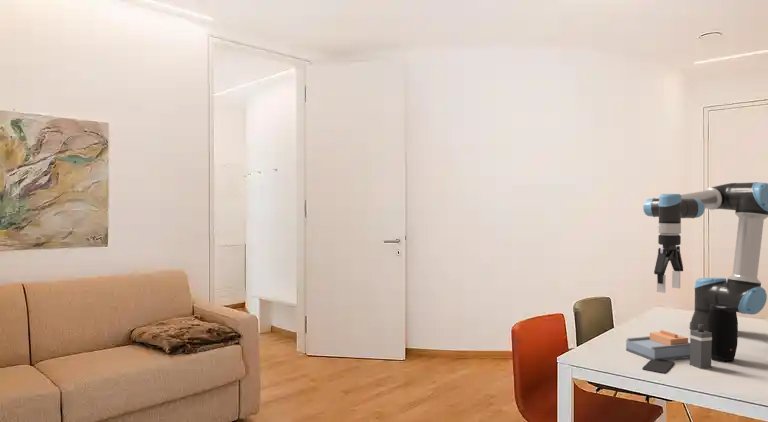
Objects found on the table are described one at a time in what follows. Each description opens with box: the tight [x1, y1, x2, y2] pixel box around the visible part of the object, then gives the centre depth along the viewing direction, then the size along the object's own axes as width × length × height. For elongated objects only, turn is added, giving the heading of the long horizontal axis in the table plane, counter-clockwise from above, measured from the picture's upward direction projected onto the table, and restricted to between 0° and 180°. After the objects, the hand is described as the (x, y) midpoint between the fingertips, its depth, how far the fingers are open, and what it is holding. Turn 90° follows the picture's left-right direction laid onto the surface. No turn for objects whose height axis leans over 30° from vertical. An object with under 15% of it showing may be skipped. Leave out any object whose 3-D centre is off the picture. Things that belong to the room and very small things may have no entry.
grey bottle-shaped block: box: [689, 324, 712, 370], centre depth 187 cm, size 5×5×14 cm
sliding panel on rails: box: [625, 335, 690, 361], centre depth 202 cm, size 20×14×5 cm
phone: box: [642, 359, 675, 375], centre depth 187 cm, size 7×1×15 cm
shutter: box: [649, 329, 689, 345], centre depth 203 cm, size 8×10×4 cm
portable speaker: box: [707, 304, 739, 363], centre depth 195 cm, size 9×9×20 cm
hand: (668, 290), depth 207 cm, fingers open, 13 cm apart
